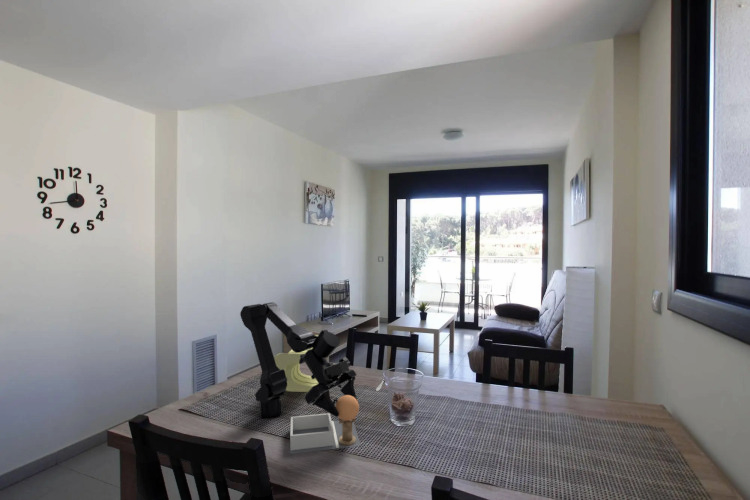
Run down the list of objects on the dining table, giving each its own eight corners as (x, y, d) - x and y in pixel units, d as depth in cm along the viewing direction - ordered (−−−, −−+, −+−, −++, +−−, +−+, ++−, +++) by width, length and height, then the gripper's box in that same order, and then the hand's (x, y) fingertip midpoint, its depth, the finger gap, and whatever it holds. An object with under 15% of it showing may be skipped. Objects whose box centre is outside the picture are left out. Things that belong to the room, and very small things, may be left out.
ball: (336, 426, 105) (336, 401, 105) (334, 415, 112) (334, 392, 112) (360, 423, 106) (360, 399, 106) (357, 413, 113) (357, 390, 113)
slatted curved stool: (296, 373, 171) (296, 334, 171) (330, 374, 169) (330, 335, 169) (272, 399, 141) (272, 352, 141) (313, 401, 140) (313, 353, 140)
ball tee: (339, 446, 106) (339, 423, 106) (338, 437, 111) (337, 415, 111) (357, 444, 107) (356, 421, 107) (354, 435, 112) (354, 414, 112)
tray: (290, 450, 104) (290, 436, 104) (291, 429, 116) (290, 416, 116) (333, 445, 107) (333, 431, 107) (329, 425, 119) (329, 413, 119)
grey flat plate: (289, 456, 102) (289, 453, 102) (290, 427, 119) (290, 425, 119) (361, 447, 107) (361, 445, 107) (352, 420, 123) (352, 418, 123)
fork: (370, 394, 147) (370, 389, 147) (386, 374, 170) (386, 370, 170) (378, 394, 146) (378, 390, 146) (393, 374, 169) (393, 370, 169)
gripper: (312, 358, 104) (343, 406, 98) (351, 344, 120) (380, 384, 114) (292, 381, 108) (321, 428, 102) (333, 364, 124) (360, 404, 118)
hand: (347, 409), depth 109 cm, fingers open, 9 cm apart
